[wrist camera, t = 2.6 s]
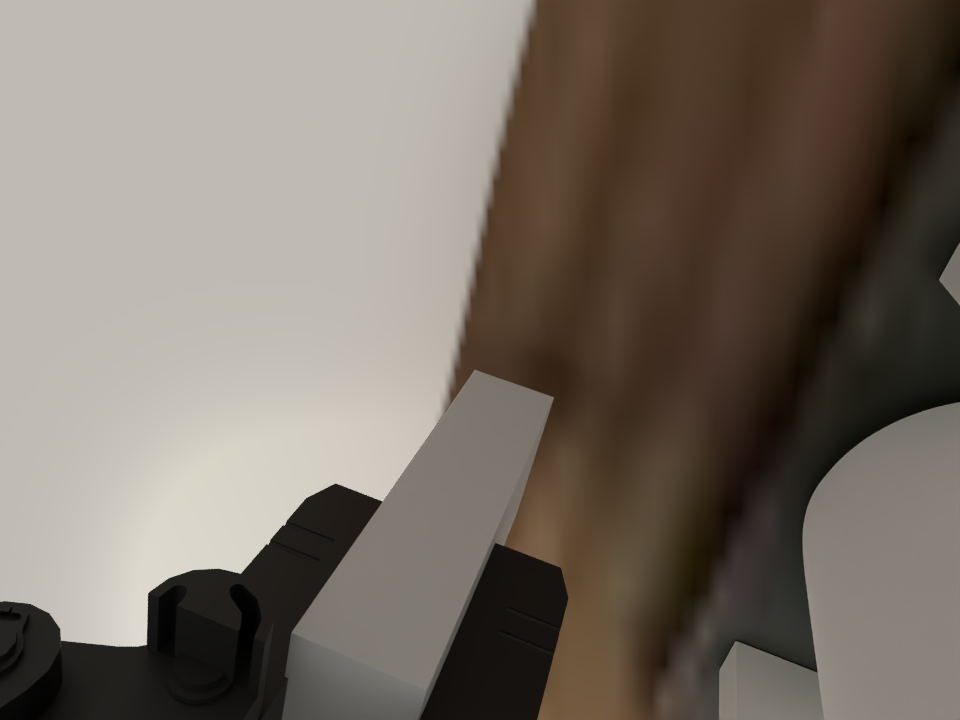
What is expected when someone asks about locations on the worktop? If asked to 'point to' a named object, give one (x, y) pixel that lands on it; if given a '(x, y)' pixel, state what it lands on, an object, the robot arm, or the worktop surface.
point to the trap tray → (769, 679)
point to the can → (889, 573)
